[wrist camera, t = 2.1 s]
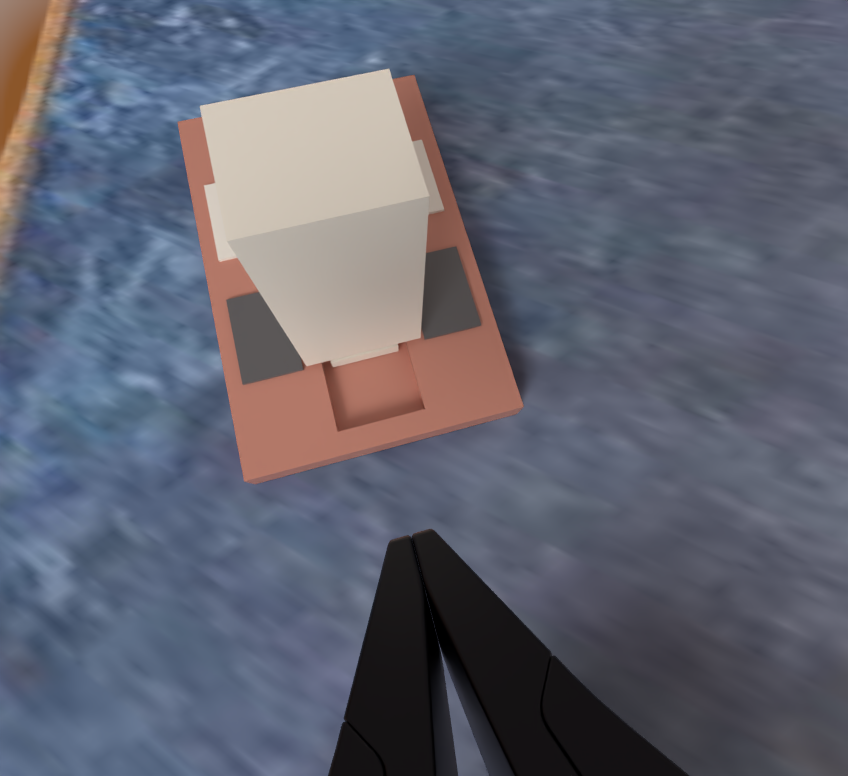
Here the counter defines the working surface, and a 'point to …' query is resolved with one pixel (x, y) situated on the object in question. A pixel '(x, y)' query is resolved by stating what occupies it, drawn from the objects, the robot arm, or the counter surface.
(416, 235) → the switch tab
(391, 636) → the robot arm
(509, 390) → the switch block
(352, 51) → the counter surface
